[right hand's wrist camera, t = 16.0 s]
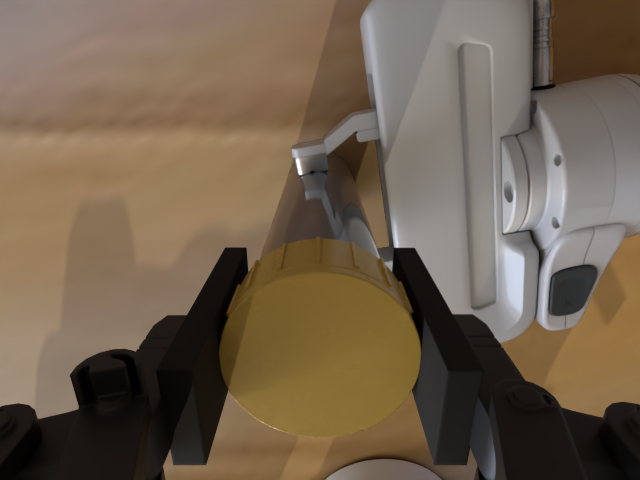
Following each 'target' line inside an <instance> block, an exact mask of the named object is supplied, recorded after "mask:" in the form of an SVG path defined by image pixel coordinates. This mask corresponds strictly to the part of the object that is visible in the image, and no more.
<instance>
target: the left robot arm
mask: <svg viewBox="0 0 640 480" xmlns="http://www.w3.org/2000/svg"><path fill="white" fill-rule="evenodd" d="M555 11H556V0H371V1H370V3H369V4H368V5H367V7H366V9H365V10H364V12H363V14H362V16H361V19H360V29H361V37H362V45H363V52H364V60H365V67H366V75H367V83H368V90H369V98H370V105H371V109H367V110H362V111H357V112H352V113H350V114H349V115H347V116H346V117H345V118H344V119H343V120H342V121H341V122H340V123H338V124H337V125H336V126H335V127H334V128H333V129H332V130H330V131H329V132H328V133H327V134H326V135H325V136H324V139H320V140H314V141H309V142H304V143H299V144H296V145H293V146H292V148H291V149H292V155H293V159H294V164H295V168H296V172H297V175H306V174H309V173H310V172H311V171H314V172H322V171H328V170H329V168H328V161H327V155H328V154H329V153H331V152H332V151H333V150H334V149H335V148H337V147H338V146H339V145H340V144H341V143H343V142H344V141H345V140H346V139H347V138H349V137H350V136H351V135H352V134H353V133H354V136H355V137H356V139H357V140H358V141H359V142H366V141H372V140H375V143H376V151H377V158H378V166H379V174H380V181H381V189H382V196H383V204H384V212H385V219H386V227H387V234H388V242H389V246H388V247H383V248H378V252H379V255H380V257H381V258H382V259H383V260H384V263H385V265H386V266H387V267H388V268H389V269H390V270H391V272H392V266H393V252H394V248H415V249H416V251H417V252H418V254H419V256H420V258H421V259H422V261H423V263H424V265H425V266H426V268H427V270H428V272H429V273H430V275H431V277H432V279H433V280H434V282H435V284H436V286H437V288H438V289H439V291H440V293H441V295H442V296H443V298H444V300H445V302H446V303H447V305H448V307H449V309H450V310H451V312H452V314H473V315H475V316H476V317H477V318H479V319H480V320H482V321H483V322H484V323H486V324H487V325H488V327H489V328H490V330H491V331H492V333H493V334H494V336H495V338H496V339H497V340H498V342H499V343H502V342H505V341H508V340H511V339H513V338H515V337H517V336H519V335H520V334H522V333H523V332H524V331H525V330H526V329H527V328H528V327H529V326H530V325H531V323H532V321H533V319H535V320H536V321H537V322H538V323H539V324H540V325H541V326H543V327H544V328H545V329H547V330H552V331H555V330H564V329H569V328H571V327H574V326H575V325H577V324H578V323H579V321H580V320H581V319H582V317H583V315H584V313H585V310H586V308H587V306H588V303H589V301H590V299H591V297H592V294H593V292H594V290H595V288H596V286H597V284H598V282H599V280H600V278H601V276H602V274H603V272H604V270H605V268H606V267H607V265H608V263H609V261H610V260H611V258H612V257H613V255H614V254H615V252H616V251H617V249H618V248H619V246H620V244H621V243H622V240H623V238H627V237H631V236H634V235H636V234H640V75H637V74H625V73H619V74H609V75H604V76H598V77H593V78H588V79H583V80H578V81H572V82H567V83H562V84H557V85H555V84H554V46H553V45H554V41H553V40H552V39H553V35H552V33H553V29H552V27H553V17H555ZM325 480H442V479H441V478H439V477H438V476H437V475H436V474H435V473H433V472H432V471H430V470H428V469H427V468H425V467H422V466H420V465H418V464H415V463H411V462H408V461H403V460H395V459H375V460H367V461H362V462H358V463H355V464H352V465H349V466H346V467H344V468H342V469H340V470H338V471H336V472H335V473H333V474H332V475H330V476H329V477H328V478H326V479H325Z"/></svg>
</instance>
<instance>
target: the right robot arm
mask: <svg viewBox="0 0 640 480" xmlns="http://www.w3.org/2000/svg"><path fill="white" fill-rule="evenodd" d="M392 273H393V274H394V276H395V277H396V279H397V281H398V282H399V281H401V283H402V285H403V287H404V290H405V292H406V295H407V297H408V300H409V302H410V305H411V307H412V310H413V313H411V315H412V318H413V320H414V323H415V325H416V328H417V331H418V333H419V337H420V342H421V360H420V369H419V375H418V378H417V380H416V383H415V385H414V387H413V389H412V392H413V395H414V399H415V402H416V405H417V409H418V412H419V416H420V419H421V422H422V426H423V429H424V432H425V436H426V439H427V442H428V446H429V449H430V453H431V456H432V459H433V463H434V465H467V461H468V456H469V450H470V448H471V450H472V452H473V455H474V457H475V460H476V462H477V470H476V474H475V479H474V480H640V405H638V404H634V403H627V402H619V403H612V404H611V405H610V406H609V407H607V408H606V410H605V413H604V416H603V418H601V417H597V416H592V415H588V414H584V413H579V412H575V411H571V410H568V409H564V408H561V406H560V405H559V403H558V402H557V400H556V398H555V397H554V396H552V395H551V394H550V393H549V392H548V391H547V390H545V389H544V388H542V387H540V386H538V385H536V384H534V383H531V382H528V381H525V379H524V378H523V377H522V375H521V374H520V372H519V371H518V369H517V368H516V366H515V365H514V363H513V362H512V360H511V359H510V358H509V356H508V355H507V353H506V352H505V350H504V349H503V348H501V344H500V343H499V342H498V340H497V339H496V338H495V336H494V334H493V333H492V331H491V330H490V328H489V327H488V325H487V324H486V323H484V322H483V321H482V320H480V319H479V318H477V317H476V316H475V315H473V314H452V312H451V310H450V309H449V307H448V305H447V303H446V302H445V300H444V298H443V296H442V295H441V293H440V291H439V289H438V288H437V286H436V284H435V282H434V280H433V279H432V277H431V275H430V273H429V272H428V270H427V268H426V266H425V265H424V263H423V261H422V259H421V258H420V256H419V254H418V252H417V251H416V249H415V248H394V252H393V266H392ZM247 274H248V263H247V249H246V248H225V249H224V251H223V253H222V254H221V256H220V258H219V260H218V262H217V263H216V265H215V267H214V269H213V270H212V272H211V274H210V276H209V277H208V279H207V281H206V283H205V284H204V286H203V288H202V290H201V291H200V293H199V295H198V297H197V299H196V300H195V302H194V304H193V306H192V307H191V309H190V311H189V313H188V314H187V315H168V316H166V317H165V318H163V319H162V320H161V321H159V322H158V323H156V324H155V325H154V326H153V327H152V329H151V330H150V332H149V333H148V335H147V336H146V339H144V341H143V342H142V344H141V345H140V346H139V349H137V351H136V352H135V351H131V350H127V349H113V350H109V351H105V352H101V353H98V354H96V355H94V356H92V357H89V358H87V359H86V360H84V361H83V362H82V363H80V364H79V365H78V366H76V368H75V369H74V370H73V372H72V373H71V374H70V377H71V381H72V384H73V387H74V391H75V394H76V398H77V401H78V405H79V409H78V410H75V411H71V412H68V413H64V414H59V415H55V416H51V417H46V418H42V419H38V418H37V415H36V412H35V410H34V409H33V408H32V407H30V406H29V405H25V404H11V405H5V406H1V407H0V480H165V475H164V470H163V465H164V462H165V460H166V457H167V455H168V452H169V450H170V449H171V455H172V460H173V465H206V463H207V460H208V457H209V453H210V450H211V447H212V443H213V440H214V437H215V433H216V430H217V426H218V423H219V420H220V416H221V413H222V410H223V406H224V403H225V399H226V396H227V393H228V388H227V386H226V384H225V381H224V379H223V376H222V372H221V366H220V357H219V345H220V339H221V335H222V332H223V329H224V327H225V324H226V321H227V319H228V317H227V316H225V315H226V313H227V310H228V308H229V305H230V303H231V300H232V298H233V296H234V293H235V291H236V288H237V286H238V284H239V285H241V284H242V282H243V280H244V278H245V276H246V275H247Z"/></svg>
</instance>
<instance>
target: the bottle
mask: <svg viewBox="0 0 640 480" xmlns="http://www.w3.org/2000/svg"><path fill="white" fill-rule="evenodd" d="M327 161H328V168H329V170H328V171H322V172H314V171H311V172H310V173H309V174H306V175H297V172H296V168H295V164H293V166H292V168H291V170H290V172H289V175H288V178H287V181H286V183H285V186H284V189H283V192H282V195H281V198H280V201H279V204H278V207H277V210H276V213H275V216H274V219H273V222H272V224H271V227H270V230H269V233H268V236H267V239H266V242H265V245H264V248H263V251H262V254H261V257H260V259H262V258H263V257H264V256H266V255H267V254H268V253H270V252H272V251H274V250H276V249H277V248H279V247H282V244H284V243H286V245H287V244H289V243H293V242H297V241H300V240H307V239H316V237H320V239H334V240H340V241H344V242H348V243H351V242H354V243H355V245H356V246H359V247H361V248H363V249H365V250H367V251H369V252H371V253H372V254H373V255H375V256H376V257H378V258H380V255H379V252H378V249H377V246H376V243H375V240H374V237H373V235H372V232H371V229H370V226H369V223H368V220H367V217H366V214H365V211H364V208H363V205H362V202H361V199H360V196H359V193H358V190H357V187H356V184H355V182H354V179H353V176H352V173H351V170H350V168H349V166H348V165H347V163H346V162H345V161H344V160H343V159H342V158H340V157H339V156H337V155H336V154H333V153H329V154H328V155H327Z"/></svg>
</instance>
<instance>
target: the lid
mask: <svg viewBox="0 0 640 480" xmlns="http://www.w3.org/2000/svg"><path fill="white" fill-rule="evenodd" d="M411 313H413V310H412V307H411V305H410V302H409V300H408V297H407V295H406V292H405V290H404V287H403V285H402V283H401V281H399V282H398V281H397V279H396V277H395V276H394V274H393V273H392V272H391V270H390V269H389V268H388V267H387V266H386V265H385V263H384V260H383V259H382V258H381V257H380V258H378V257H376V256H375V255H373V254H372V253H371V252H369V251H367V250H365V249H363V248H361V247H359V246H356V245H355V243H354V242H351V243H348V242H344V241H340V240H334V239H320V237H316V239H307V240H300V241H297V242H293V243H289V244H287V245H286V243H284V244H282V247H279V248H277V249H276V250H274V251H272V252H270V253H268V254H267V255H266V256H264V257H263V258H262V259H260V260H259V261H258V260H256V261H255V262H254V265H253V267H252V268H251V270H250V271H249V272H248V274H247V275H246V276H245V278H244V280H243V282H242V284H241V285H239V284H238V286H237V288H236V291H235V293H234V296H233V298H232V300H231V303H230V305H229V308H228V310H227V313H226V315H225V316H227V317H228V319H227V321H226V324H225V327H224V329H223V332H222V335H221V339H220V345H219V357H220V366H221V372H222V376H223V379H224V381H225V384H226V386H227V388H228V390H229V391H230V393H231V394H232V396H233V397H234V399H235V400H236V401H237V402H238V403H239V405H240V406H241V407H242V408H243V409H244V410H246V411H247V412H248V413H249V414H250V415H252V416H253V417H254V418H256V419H257V420H259V421H260V422H262V423H264V424H266V425H268V426H270V427H272V428H274V429H277V430H279V431H282V432H286V433H289V434H293V435H298V436H303V437H314V438H326V437H337V436H343V435H348V434H352V433H355V432H358V431H361V430H364V429H366V428H369V427H371V426H373V425H375V424H377V423H378V422H380V421H382V420H384V419H385V418H386V417H388V416H389V415H390V414H392V413H393V412H394V411H395V410H396V409H397V408H398V407H399V406H400V405H401V404H402V403H403V402H404V401H405V399H406V398H407V397H408V395H409V394H410V392H411V391H412V389H413V387H414V385H415V383H416V380H417V378H418V375H419V369H420V360H421V342H420V337H419V333H418V331H417V328H416V325H415V323H414V320H413V318H412V315H411Z"/></svg>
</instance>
